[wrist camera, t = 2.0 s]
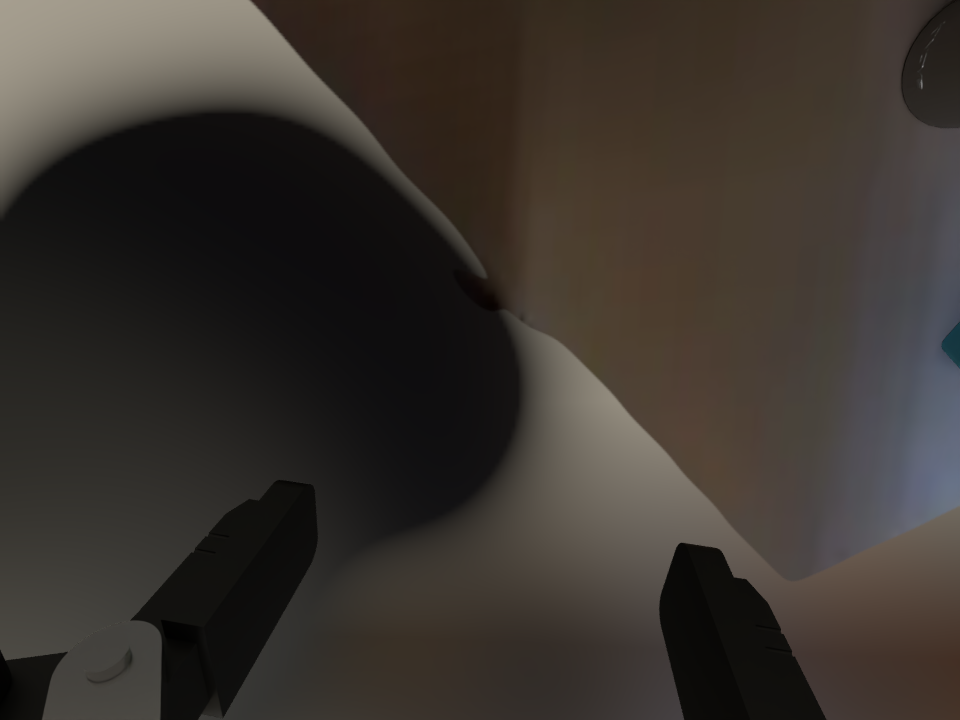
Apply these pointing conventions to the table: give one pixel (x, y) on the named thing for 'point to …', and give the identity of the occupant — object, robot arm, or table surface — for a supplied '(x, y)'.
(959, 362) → the block
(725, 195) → the table surface
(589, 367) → the table surface
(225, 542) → the robot arm
